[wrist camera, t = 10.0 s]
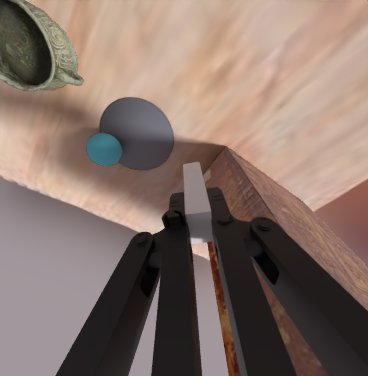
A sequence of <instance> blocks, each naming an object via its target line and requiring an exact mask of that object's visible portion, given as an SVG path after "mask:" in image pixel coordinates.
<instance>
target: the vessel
mask: <svg viewBox="0 0 368 376" xmlns="http://www.w3.org/2000/svg"><path fill="white" fill-rule="evenodd" d="M77 71H78V60H77V55H76V52H75V49H74V46H73V44H72V43H71V41H70V39H69V37H68V36H67V34H66V33H65V32H64V30H63V29H62V28H61V27H60V26H59V25H58V24H57V23H56V22H54V21H53V20H52V19H51V18H50V17H49V16H48V15H47V14H46V13H45V12H44V11H43V10H41V9H40V8H38V7H36V6H34V5H32V4H30V3H28V2H27V1H25V0H0V79H1V80H2V81H4V82H5V83H7V84H9V85H11V86H13V87H15V88H18V89H21V90H23V91H37V90H51V91H53V90H56V89H59V88H61V87H64V86H66V84H72V85H76V86H80V85H82V84H83V82H84V79H83V78H82V77H80V76H79V75H77Z"/></svg>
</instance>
